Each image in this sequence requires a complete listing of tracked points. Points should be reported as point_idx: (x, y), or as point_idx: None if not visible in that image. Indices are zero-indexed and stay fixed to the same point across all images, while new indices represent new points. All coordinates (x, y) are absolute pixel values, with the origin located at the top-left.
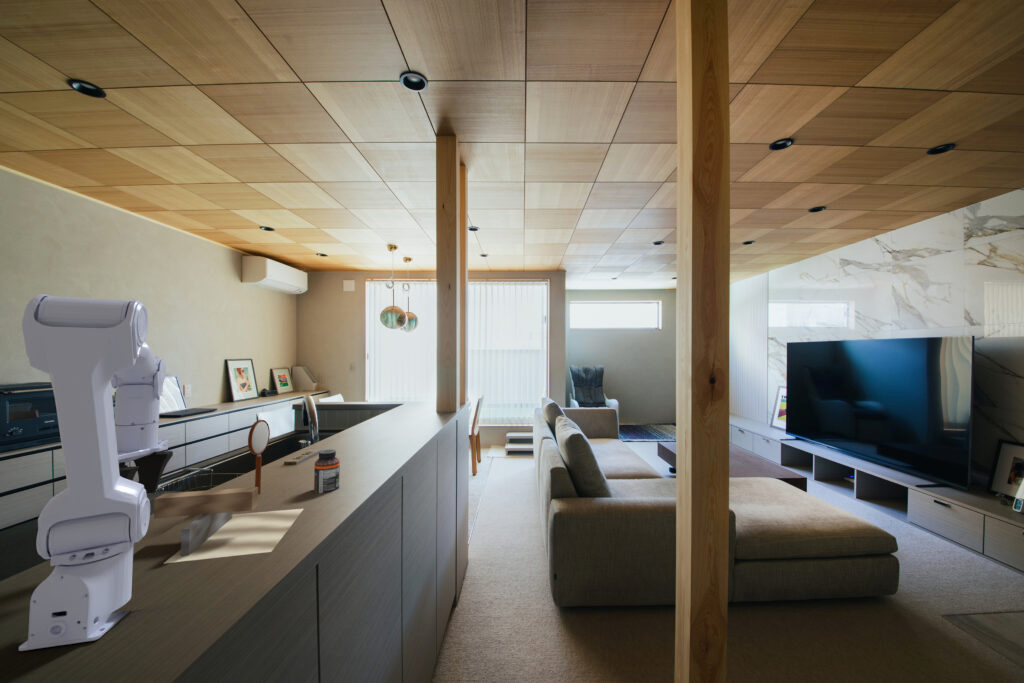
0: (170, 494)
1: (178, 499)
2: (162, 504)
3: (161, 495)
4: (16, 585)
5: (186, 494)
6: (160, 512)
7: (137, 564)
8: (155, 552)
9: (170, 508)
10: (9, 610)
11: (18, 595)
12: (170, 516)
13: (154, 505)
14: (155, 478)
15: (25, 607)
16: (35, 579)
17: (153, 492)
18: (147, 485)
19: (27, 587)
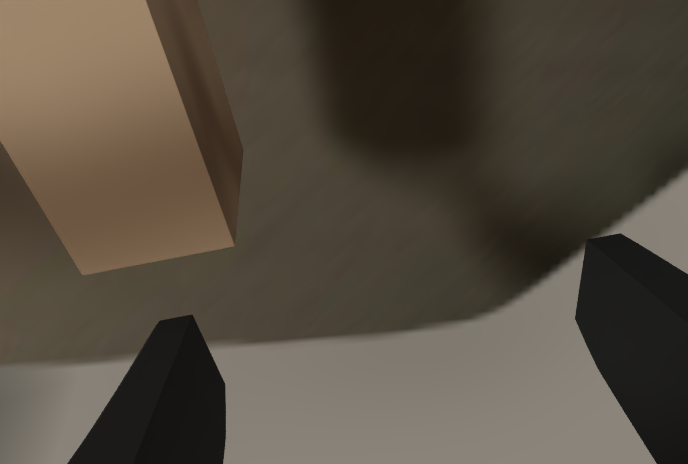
0: (92, 202)
1: (165, 27)
2: (218, 155)
3: (140, 258)
4: (478, 314)
5: (48, 7)
6: (226, 133)
7: (387, 22)
8: (256, 38)
9: (199, 72)
10: (653, 196)
11: (552, 255)
12: (208, 41)
13: (237, 208)
14: (155, 450)
15: (654, 165)
16: (449, 299)
17: (191, 320)
18: (202, 420)
19: (502, 275)
